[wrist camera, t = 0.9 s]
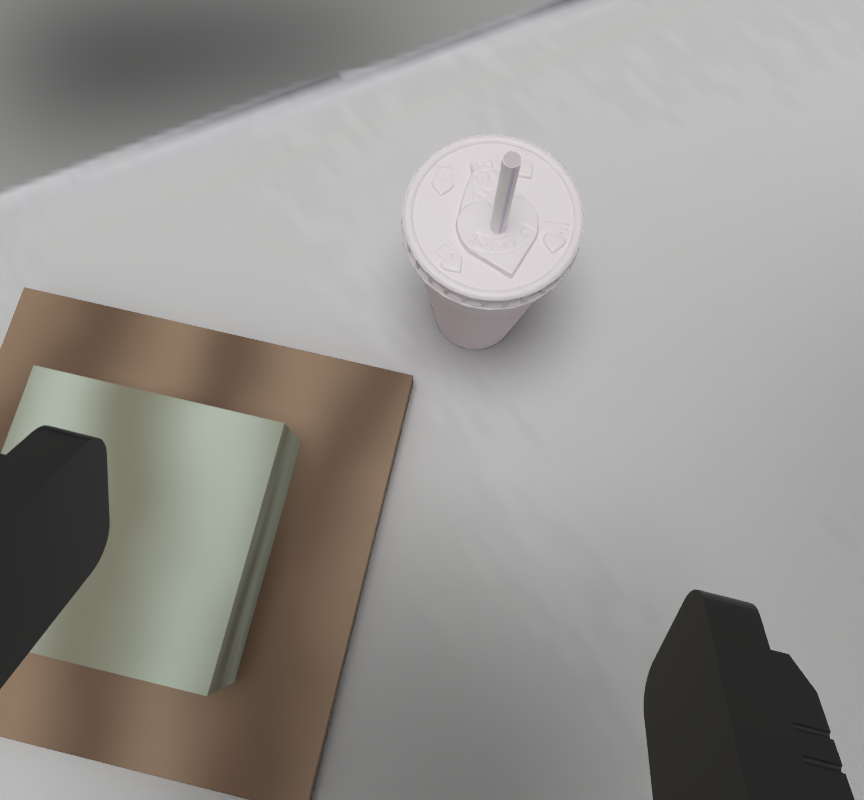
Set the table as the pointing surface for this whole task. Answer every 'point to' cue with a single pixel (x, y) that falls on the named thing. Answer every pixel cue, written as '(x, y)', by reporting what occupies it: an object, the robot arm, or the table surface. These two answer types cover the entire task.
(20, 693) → the plinth
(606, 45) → the table surface
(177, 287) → the table surface
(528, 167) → the smoothie
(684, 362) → the table surface
